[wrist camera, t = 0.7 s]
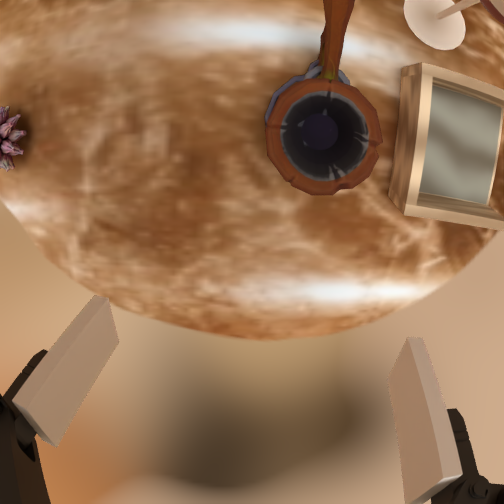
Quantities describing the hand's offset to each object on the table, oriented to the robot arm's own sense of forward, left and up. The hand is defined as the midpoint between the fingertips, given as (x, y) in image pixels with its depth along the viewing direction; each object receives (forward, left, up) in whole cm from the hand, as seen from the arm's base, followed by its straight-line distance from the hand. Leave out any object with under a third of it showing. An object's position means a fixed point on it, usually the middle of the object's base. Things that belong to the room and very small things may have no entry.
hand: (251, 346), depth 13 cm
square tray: (-8, +20, -28) cm, 35 cm away
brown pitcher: (-11, +3, -28) cm, 30 cm away
